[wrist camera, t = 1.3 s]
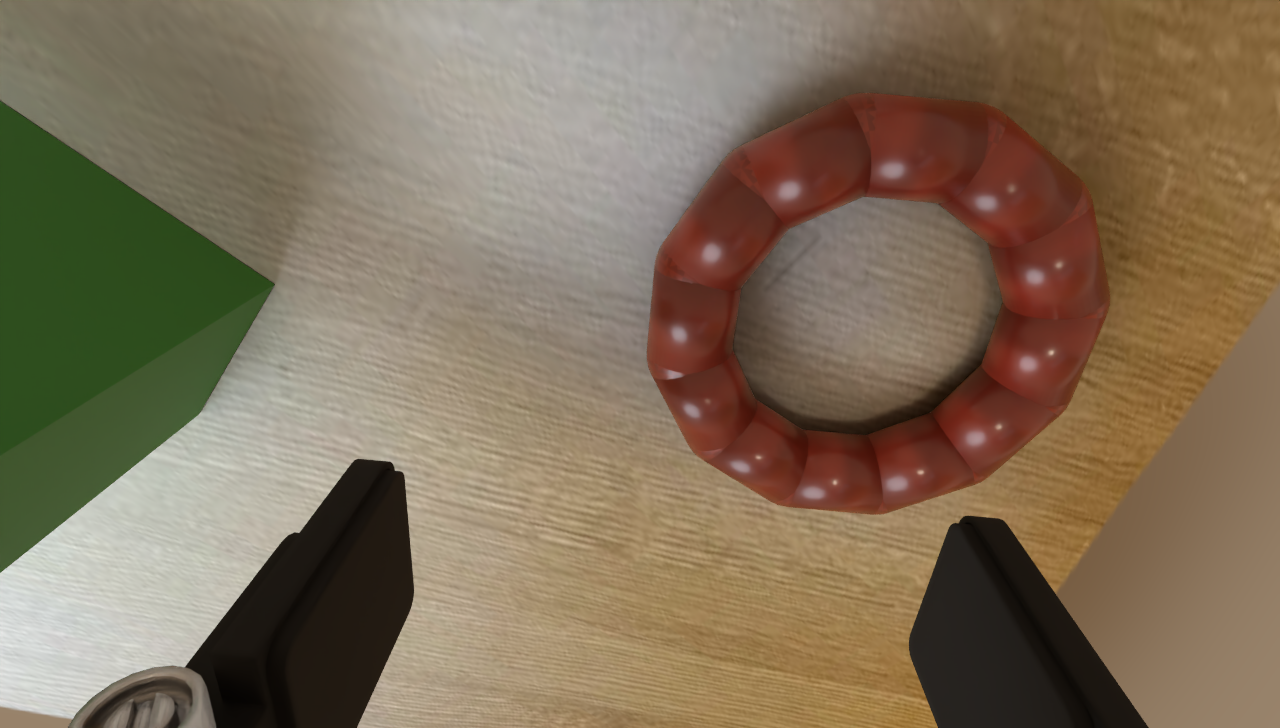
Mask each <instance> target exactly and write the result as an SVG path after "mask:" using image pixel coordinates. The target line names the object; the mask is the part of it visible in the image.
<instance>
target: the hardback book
mask: <svg viewBox="0 0 1280 728" xmlns="http://www.w3.org/2000/svg"><path fill="white" fill-rule="evenodd" d="M274 285H275V284H273V283H272V282H270V281H269V280H267V279H266V278H264V277H263V276H261V275H260V274H258V273H257V272H255V271H254V270H252V269H251V268H249V267H248V266H246V265H245V264H243V263H242V262H240V261H239V260H237V259H236V258H234V257H233V256H231V255H230V254H228V253H227V252H225V251H224V250H222V249H221V248H219V247H218V246H216V245H215V244H213V243H212V242H210V241H209V240H207V239H206V238H204V237H203V236H201V235H200V234H198V233H197V232H195V231H194V230H192V229H191V228H189V227H188V226H186V225H185V224H183V223H182V222H180V221H179V220H177V219H176V218H174V217H173V216H172V215H170V214H169V213H167V212H166V211H164V210H163V209H161V208H160V207H158V206H157V205H155V204H154V203H152V202H151V201H149V200H148V199H146V198H145V197H143V196H142V195H140V194H139V193H137V192H136V191H134V190H133V189H131V188H130V187H128V186H127V185H125V184H124V183H122V182H121V181H119V180H118V179H116V178H115V177H113V176H112V175H110V174H109V173H107V172H106V171H104V170H103V169H101V168H100V167H98V166H97V165H95V164H94V163H92V162H91V161H89V160H88V159H86V158H85V157H83V156H82V155H80V154H79V153H77V152H76V151H74V150H73V149H71V148H70V147H68V146H67V145H65V144H64V143H62V142H61V141H59V140H58V139H56V138H55V137H53V136H52V135H50V134H49V133H47V132H46V131H44V130H43V129H41V128H40V127H38V126H37V125H35V124H34V123H32V122H31V121H29V120H28V119H26V118H25V117H23V116H22V115H20V114H19V113H17V112H16V111H14V110H13V109H11V108H10V107H8V106H7V105H5V104H4V103H2V102H1V101H0V573H1V572H2V571H3V570H4V569H6V568H7V567H8V566H9V565H11V564H12V563H13V562H14V561H16V560H17V559H18V558H19V557H21V556H22V555H23V554H24V553H26V552H27V551H28V550H29V549H31V548H32V547H33V546H34V545H36V544H37V543H38V542H39V541H41V540H42V539H43V538H44V537H46V536H47V535H48V534H49V533H51V532H52V531H53V530H54V529H56V528H57V527H58V526H59V525H61V524H62V523H63V522H64V521H66V520H67V519H68V518H69V517H71V516H72V515H73V514H74V513H76V512H77V511H78V510H79V509H81V508H82V507H83V506H84V505H86V504H87V503H88V502H90V501H91V500H92V499H93V498H95V497H96V496H97V495H98V494H100V493H101V492H102V491H103V490H105V489H106V488H107V487H108V486H110V485H111V484H112V483H113V482H115V481H116V480H117V479H118V478H120V477H121V476H122V475H123V474H125V473H126V472H127V471H128V470H130V469H131V468H132V467H133V466H135V465H136V464H137V463H138V462H140V461H141V460H142V459H143V458H145V457H146V456H147V455H148V454H150V453H151V452H152V451H153V450H155V449H156V448H157V447H158V446H160V445H161V444H162V443H163V442H165V441H166V440H167V439H168V438H170V437H171V436H172V435H173V434H175V433H176V432H177V431H178V430H180V429H181V428H182V427H184V426H185V425H186V424H187V423H189V422H190V421H191V420H192V419H194V418H195V417H196V416H197V415H199V413H200V411H201V410H202V408H203V406H204V405H205V403H206V401H207V399H208V398H209V396H210V394H211V393H212V391H213V389H214V387H215V386H216V384H217V382H218V381H219V379H220V377H221V375H222V374H223V372H224V370H225V369H226V367H227V365H228V363H229V362H230V360H231V358H232V357H233V355H234V353H235V352H236V350H237V348H238V346H239V345H240V343H241V341H242V340H243V338H244V336H245V334H246V333H247V331H248V329H249V328H250V326H251V324H252V322H253V321H254V319H255V317H256V316H257V314H258V312H259V310H260V309H261V307H262V305H263V304H264V302H265V300H266V298H267V297H268V295H269V293H270V292H271V290H272V288H273V286H274Z"/></svg>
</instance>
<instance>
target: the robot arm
mask: <svg viewBox="0 0 1280 728" xmlns="http://www.w3.org/2000/svg"><path fill="white" fill-rule="evenodd" d="M413 596H414V584H413V572H412V560H411V548H410V537H409V525H408V513H407V502H406V490H405V479H404V474H403V472H401V471H395V469H394V466H393V464H392V463H391V462H386V461H375V460H364V459H357V460H355V461H354V462H353V463H352V464H351V465H350V466H349V468H348V469H347V470H346V472H345V473H344V474H343V476H342V477H341V478H340V480H339V481H338V482H337V484H336V485H335V486H334V488H333V489H332V490H331V492H330V493H329V494H328V496H327V497H326V498H325V500H324V501H323V502H322V504H321V505H320V506H319V508H318V509H317V510H316V512H315V513H314V514H313V516H312V517H311V518H310V520H309V521H308V522H307V524H306V525H305V526H304V528H303V529H302V530H301V532H300V533H293V534H290V535H288V536H287V537H286V538H285V539H284V540H283V541H282V542H281V544H280V545H279V546H278V547H277V549H276V550H275V551H274V553H273V554H272V555H271V556H270V558H269V559H268V560H267V562H266V563H265V564H264V566H263V567H262V568H261V569H260V571H259V572H258V573H257V575H256V576H255V577H254V578H253V580H252V581H251V582H250V584H249V585H248V586H247V588H246V589H245V590H244V591H243V593H242V594H241V595H240V597H239V598H238V599H237V600H236V602H235V603H234V604H233V606H232V607H231V608H230V609H229V611H228V612H227V613H226V615H225V616H224V617H223V619H222V620H221V621H220V622H219V624H218V625H217V626H216V628H215V629H214V630H213V631H212V633H211V634H210V635H209V637H208V638H207V639H206V641H205V642H204V643H203V644H202V646H201V647H200V648H199V650H198V651H197V652H196V653H195V655H194V656H193V657H192V659H191V660H190V661H189V662H188V664H187V665H186V666H185V668H184V667H178V666H164V667H154V668H150V669H147V670H143V671H140V672H137V673H133V674H131V675H129V676H127V677H125V678H123V679H121V680H119V681H117V682H115V683H112V684H111V685H109V686H108V687H107V688H105V689H104V690H102V691H101V692H99V693H98V694H97V695H95V696H94V697H92V698H91V699H90V700H89V701H88V702H87V703H86V704H85V705H84V706H83V707H82V708H81V709H80V710H79V711H78V712H77V713H76V715H75V716H74V718H73V720H72V722H71V723H70V725H69V726H68V728H357V726H358V724H359V722H360V719H361V717H362V715H363V713H364V711H365V708H366V706H367V704H368V702H369V700H370V697H371V695H372V693H373V691H374V689H375V687H376V684H377V682H378V680H379V678H380V676H381V673H382V671H383V669H384V667H385V665H386V662H387V660H388V658H389V656H390V654H391V651H392V649H393V647H394V645H395V643H396V640H397V638H398V636H399V634H400V632H401V629H402V627H403V625H404V623H405V621H406V618H407V616H408V614H409V612H410V609H411V606H412V602H413ZM909 651H910V656H911V659H912V662H913V665H914V667H915V670H916V672H917V675H918V677H919V680H920V682H921V685H922V688H923V690H924V693H925V695H926V698H927V700H928V703H929V705H930V708H931V711H932V713H933V716H934V718H935V721H936V723H937V726H938V728H1148V726H1147V725H1146V723H1145V722H1144V720H1143V719H1142V718H1141V716H1140V715H1139V713H1138V712H1137V710H1136V709H1135V708H1134V706H1133V705H1132V703H1131V702H1130V700H1129V699H1128V697H1127V696H1126V695H1125V693H1124V692H1123V690H1122V689H1121V687H1120V686H1119V685H1118V683H1117V682H1116V680H1115V679H1114V677H1113V676H1112V675H1111V673H1110V672H1109V670H1108V669H1107V667H1106V666H1105V664H1104V663H1103V662H1102V661H1101V659H1100V658H1099V656H1098V654H1097V653H1096V652H1095V650H1094V649H1093V647H1092V646H1091V644H1090V643H1089V641H1088V640H1087V639H1086V637H1085V636H1084V634H1083V633H1082V631H1081V630H1080V629H1079V627H1078V626H1077V624H1076V623H1075V621H1074V620H1073V618H1072V617H1071V616H1070V614H1069V613H1068V612H1067V610H1066V608H1065V607H1064V606H1063V604H1062V603H1061V601H1060V600H1059V598H1058V597H1057V596H1056V594H1055V593H1054V591H1053V590H1052V588H1051V587H1050V585H1049V584H1048V583H1047V581H1046V580H1045V578H1044V577H1043V575H1042V574H1041V573H1040V571H1039V570H1038V568H1037V567H1036V565H1035V564H1034V562H1033V561H1032V560H1031V558H1030V557H1029V555H1028V554H1027V552H1026V551H1025V550H1024V548H1023V547H1022V545H1021V544H1020V542H1019V541H1018V540H1017V538H1016V537H1015V535H1014V534H1013V532H1012V531H1011V529H1010V528H1009V527H1008V525H1007V524H1006V523H1005V522H1004V521H1003V520H1001V519H997V518H986V517H976V516H964V517H963V518H962V519H961V520H960V522H959V524H958V523H954V524H952V525H951V526H950V527H949V529H948V532H947V535H946V537H945V540H944V543H943V546H942V548H941V551H940V554H939V557H938V559H937V562H936V565H935V568H934V570H933V573H932V576H931V579H930V581H929V584H928V587H927V590H926V593H925V595H924V598H923V601H922V604H921V606H920V609H919V612H918V615H917V617H916V620H915V623H914V626H913V628H912V631H911V634H910V638H909Z"/></svg>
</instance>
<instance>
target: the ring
mask: <svg viewBox="0 0 1280 728" xmlns="http://www.w3.org/2000/svg"><path fill="white" fill-rule="evenodd" d="M863 196H864V197H875V198H886V199H897V200H909V201H920V202H931V203H938V204H939V205H941V206H942V207H943V208H944V209H946V210H947V211H948V212H950V213H951V214H952V215H953V216H955V217H956V218H957V219H958V220H960V221H961V222H962V223H963V224H965V225H966V226H967V227H968V228H970V229H971V230H972V231H973V232H975V233H976V234H977V235H979V236H980V237H981V238H982V239H984V240H985V241H986V242H987V243H988V246H989V250H990V254H991V258H992V261H993V265H994V269H995V273H996V277H997V280H998V284H999V288H1000V292H1001V296H1002V300H1003V303H1002V306H1001V309H1000V312H999V315H998V318H997V321H996V323H995V326H994V329H993V332H992V335H991V338H990V341H989V344H988V347H987V350H986V353H985V356H984V359H983V362H982V364H981V365H980V366H979V367H978V368H977V369H976V370H975V371H974V372H973V373H972V374H971V375H969V376H968V377H967V378H966V379H965V380H964V381H963V382H962V383H961V384H960V385H959V386H958V387H957V388H956V389H955V390H954V391H953V392H952V393H951V394H950V395H949V396H947V397H946V398H945V399H944V400H943V401H942V402H941V403H940V404H939V405H938V406H937V407H936V408H935V409H934V410H933V411H932V412H930V413H927V414H924V415H922V416H919V417H916V418H913V419H910V420H907V421H905V422H902V423H899V424H896V425H893V426H890V427H888V428H885V429H882V430H879V431H876V432H873V433H870V434H868V435H858V434H847V433H836V432H825V431H814V430H803V429H801V428H799V427H798V426H796V425H795V424H793V423H792V422H790V421H789V420H787V419H785V418H784V417H782V416H781V415H779V414H778V413H776V412H775V411H773V410H772V409H770V408H769V407H767V406H766V405H764V404H762V403H761V402H759V401H758V400H756V399H755V398H754V395H753V393H752V391H751V389H750V387H749V384H748V382H747V380H746V378H745V376H744V374H743V371H742V369H741V367H740V365H739V363H738V360H737V358H736V356H735V354H734V352H733V349H732V347H733V341H734V334H735V328H736V321H737V315H738V308H739V302H740V295H741V289H742V286H743V285H744V284H745V283H746V281H747V280H748V279H749V278H750V276H751V275H752V274H753V273H754V271H755V270H756V269H757V268H758V267H759V265H760V264H761V263H762V262H763V260H764V259H765V258H766V257H767V255H768V254H769V253H770V252H771V250H772V249H773V248H774V247H775V245H776V244H777V243H778V242H779V241H780V239H781V238H782V237H783V236H784V234H785V233H786V232H787V231H788V229H790V228H792V227H794V226H797V225H799V224H801V223H804V222H806V221H808V220H811V219H813V218H815V217H817V216H820V215H822V214H824V213H827V212H829V211H831V210H833V209H836V208H838V207H840V206H843V205H845V204H847V203H850V202H852V201H854V200H856V199H859V198H861V197H863ZM1109 306H1110V291H1109V286H1108V280H1107V275H1106V270H1105V265H1104V259H1103V254H1102V249H1101V244H1100V238H1099V233H1098V228H1097V222H1096V217H1095V212H1094V207H1093V201H1092V198H1091V194H1090V192H1089V190H1088V188H1087V187H1086V185H1085V184H1084V182H1083V181H1082V180H1081V179H1080V178H1079V177H1078V176H1077V175H1076V174H1074V173H1073V172H1072V171H1071V170H1070V169H1069V168H1067V167H1066V166H1065V165H1064V164H1063V163H1062V162H1060V161H1059V160H1058V159H1057V158H1056V157H1055V156H1053V155H1052V154H1051V153H1050V152H1049V151H1048V150H1046V149H1045V148H1044V147H1043V146H1042V145H1041V144H1039V143H1038V142H1037V141H1036V140H1035V139H1034V138H1032V137H1031V136H1030V135H1029V134H1028V133H1027V132H1025V131H1024V130H1023V129H1022V128H1021V127H1020V126H1018V125H1017V124H1016V123H1015V122H1014V121H1013V120H1011V119H1010V118H1009V117H1008V116H1007V115H1006V114H1004V113H1003V112H1002V111H1000V110H999V109H997V108H995V107H993V106H990V105H988V104H985V103H979V102H969V101H958V100H946V99H935V98H924V97H912V96H901V95H889V94H878V93H856V94H850V95H847V96H845V97H842V98H840V99H838V100H836V101H834V102H831V103H829V104H827V105H825V106H823V107H821V108H819V109H817V110H815V111H812V112H810V113H808V114H806V115H804V116H802V117H800V118H798V119H795V120H793V121H791V122H789V123H787V124H785V125H783V126H781V127H779V128H776V129H774V130H772V131H770V132H768V133H766V134H764V135H762V136H760V137H757V138H755V139H753V140H751V141H749V142H747V143H745V144H743V145H741V146H739V147H737V148H735V149H734V150H733V151H732V152H730V153H729V154H728V155H727V156H726V157H725V158H724V160H723V161H722V162H721V163H720V165H719V166H718V168H717V169H716V170H715V172H714V173H713V174H712V176H711V177H710V179H709V180H708V181H707V183H706V184H705V185H704V187H703V188H702V190H701V191H700V192H699V194H698V195H697V197H696V198H695V199H694V201H693V202H692V203H691V205H690V206H689V208H688V209H687V210H686V212H685V213H684V214H683V216H682V217H681V219H680V220H679V221H678V223H677V224H676V225H675V227H674V228H673V230H672V231H671V232H670V234H669V235H668V237H667V238H666V239H665V241H664V242H663V244H662V245H661V247H660V249H659V251H658V254H657V256H656V260H655V267H654V278H653V289H652V300H651V311H650V322H649V333H648V344H647V362H648V367H649V370H650V372H651V375H652V376H653V378H654V380H655V382H656V384H657V386H658V388H659V390H660V392H661V394H662V396H663V398H664V399H665V401H666V403H667V405H668V407H669V409H670V411H671V413H672V415H673V417H674V419H675V421H676V422H677V424H678V426H679V428H680V430H681V432H682V434H683V436H684V438H685V440H686V442H687V443H688V445H689V447H690V448H691V450H692V451H693V452H694V453H695V454H696V455H697V456H698V457H700V458H701V459H702V460H704V461H706V462H707V463H709V464H710V465H712V466H714V467H715V468H717V469H719V470H720V471H722V472H723V473H725V474H727V475H728V476H730V477H732V478H733V479H735V480H736V481H738V482H740V483H741V484H743V485H745V486H746V487H748V488H749V489H751V490H753V491H754V492H756V493H758V494H759V495H761V496H763V497H764V498H766V499H767V500H769V501H771V502H773V503H775V504H777V505H781V506H786V507H795V508H806V509H817V510H828V511H838V512H849V513H860V514H871V515H872V514H884V513H889V512H892V511H895V510H898V509H901V508H904V507H907V506H910V505H913V504H916V503H920V502H923V501H926V500H929V499H932V498H935V497H938V496H941V495H944V494H947V493H951V492H954V491H957V490H960V489H963V488H966V487H969V486H972V485H975V484H978V483H980V482H982V481H984V480H985V479H986V478H988V477H989V476H990V475H991V474H993V473H994V472H995V471H996V470H997V469H998V468H999V467H1001V466H1002V465H1003V464H1004V463H1005V462H1006V461H1008V460H1009V459H1010V458H1011V457H1012V456H1013V455H1015V454H1016V453H1017V452H1018V451H1019V450H1020V449H1021V448H1023V447H1024V446H1025V445H1026V444H1027V443H1028V442H1030V441H1031V440H1032V439H1033V438H1034V437H1035V436H1037V435H1038V434H1039V433H1040V432H1041V431H1042V430H1043V429H1045V428H1046V427H1047V426H1048V425H1049V424H1050V423H1052V422H1053V421H1054V420H1055V419H1056V418H1057V417H1059V416H1060V415H1061V414H1062V413H1063V412H1064V410H1065V409H1066V408H1067V406H1068V405H1069V403H1070V401H1071V399H1072V397H1073V394H1074V392H1075V389H1076V387H1077V385H1078V382H1079V380H1080V378H1081V375H1082V373H1083V370H1084V368H1085V366H1086V363H1087V361H1088V358H1089V356H1090V354H1091V351H1092V349H1093V346H1094V344H1095V342H1096V339H1097V337H1098V335H1099V332H1100V330H1101V327H1102V325H1103V323H1104V320H1105V318H1106V315H1107V313H1108V310H1109Z"/></svg>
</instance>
